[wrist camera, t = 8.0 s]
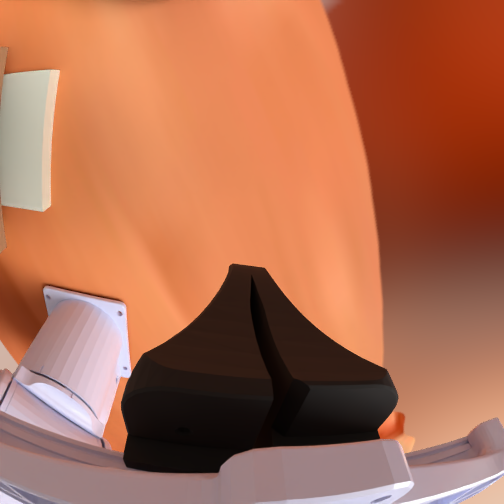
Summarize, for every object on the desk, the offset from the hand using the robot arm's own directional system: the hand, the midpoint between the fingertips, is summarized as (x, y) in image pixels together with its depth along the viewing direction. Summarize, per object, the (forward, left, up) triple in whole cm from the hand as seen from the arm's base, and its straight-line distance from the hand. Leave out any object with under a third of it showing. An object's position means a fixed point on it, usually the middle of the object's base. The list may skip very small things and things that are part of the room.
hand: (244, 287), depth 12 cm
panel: (+3, +19, -10) cm, 21 cm away
